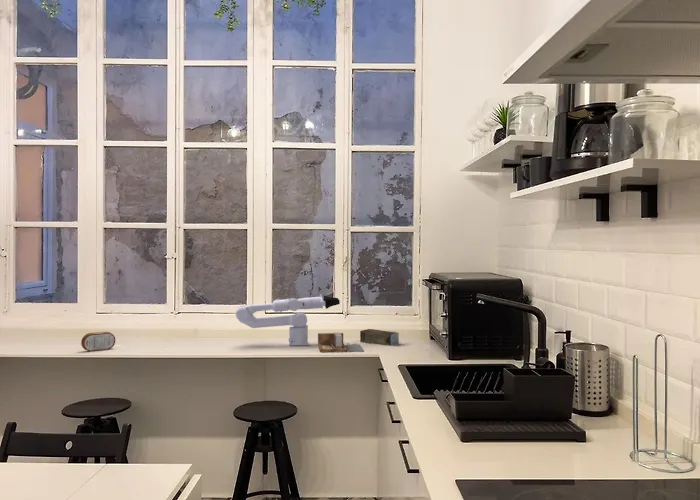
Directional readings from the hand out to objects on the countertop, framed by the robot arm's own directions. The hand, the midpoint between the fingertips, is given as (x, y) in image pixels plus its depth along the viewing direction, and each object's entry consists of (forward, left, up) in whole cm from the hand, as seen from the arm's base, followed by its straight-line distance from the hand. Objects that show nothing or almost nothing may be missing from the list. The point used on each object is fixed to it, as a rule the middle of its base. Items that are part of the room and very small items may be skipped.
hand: (338, 300), depth 299 cm
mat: (+6, -13, -22) cm, 26 cm away
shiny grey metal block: (-1, -13, -22) cm, 25 cm away
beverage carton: (+21, +2, -22) cm, 31 cm away
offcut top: (-7, -13, -22) cm, 26 cm away
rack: (-5, -13, -22) cm, 26 cm away
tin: (-113, -9, -22) cm, 116 cm away
